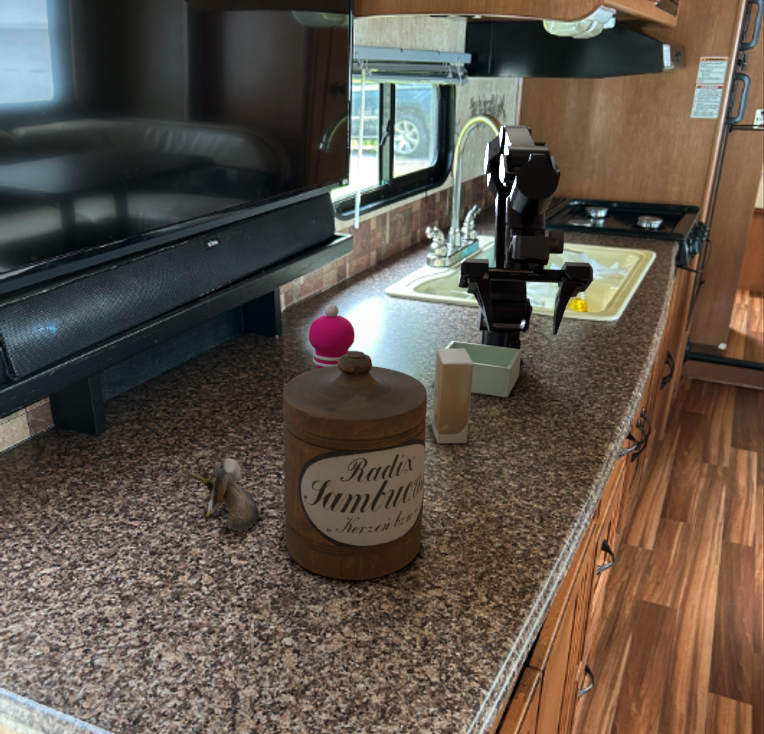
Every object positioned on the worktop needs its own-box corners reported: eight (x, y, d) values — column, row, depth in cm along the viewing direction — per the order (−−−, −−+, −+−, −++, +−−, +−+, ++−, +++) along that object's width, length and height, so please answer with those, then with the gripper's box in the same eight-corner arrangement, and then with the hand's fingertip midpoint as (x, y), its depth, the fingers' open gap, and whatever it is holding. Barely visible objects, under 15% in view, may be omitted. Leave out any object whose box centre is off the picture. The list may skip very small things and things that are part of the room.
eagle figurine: (169, 501, 90) (199, 522, 82) (192, 444, 90) (225, 460, 83) (224, 518, 94) (258, 539, 87) (246, 463, 95) (282, 480, 88)
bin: (434, 386, 128) (436, 358, 126) (450, 367, 137) (452, 340, 135) (507, 397, 124) (510, 368, 122) (518, 376, 133) (521, 349, 131)
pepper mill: (365, 437, 109) (367, 300, 101) (346, 459, 103) (347, 314, 95) (318, 429, 111) (317, 294, 103) (297, 450, 105) (294, 308, 97)
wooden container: (312, 595, 76) (309, 388, 67) (269, 521, 88) (262, 338, 79) (444, 563, 82) (458, 368, 73) (387, 497, 94) (392, 324, 85)
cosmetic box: (430, 425, 113) (435, 347, 108) (459, 425, 114) (465, 347, 109) (437, 445, 108) (442, 362, 103) (467, 444, 108) (474, 362, 103)
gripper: (465, 204, 105) (461, 315, 103) (603, 208, 104) (602, 320, 102) (459, 235, 116) (456, 335, 114) (584, 239, 115) (583, 340, 113)
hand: (522, 333), depth 110 cm, fingers open, 9 cm apart
